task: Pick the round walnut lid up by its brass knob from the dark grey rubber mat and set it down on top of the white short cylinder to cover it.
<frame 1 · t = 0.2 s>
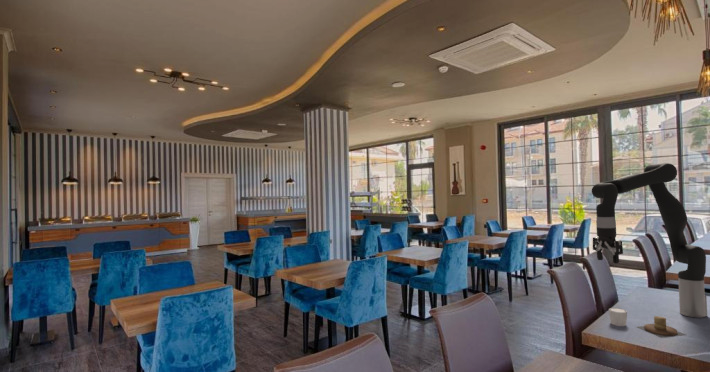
hand: (607, 261, 175), 28 cm above the table, tool pointing down, fingers open, 8 cm apart
white short cylinder: (618, 326, 172), on the table
walnut lid: (660, 330, 162), point 1 cm above the table, touching rubber mat
rubber mat: (660, 332, 162), on the table
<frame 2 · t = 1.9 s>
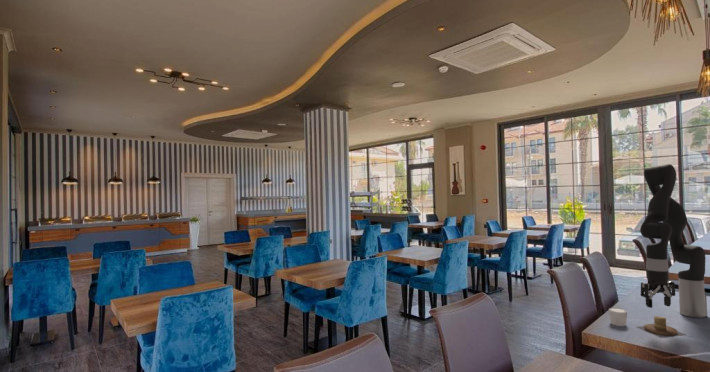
hand: (658, 306, 162), 11 cm above the table, tool pointing down, fingers open, 8 cm apart
nothing on the table moved.
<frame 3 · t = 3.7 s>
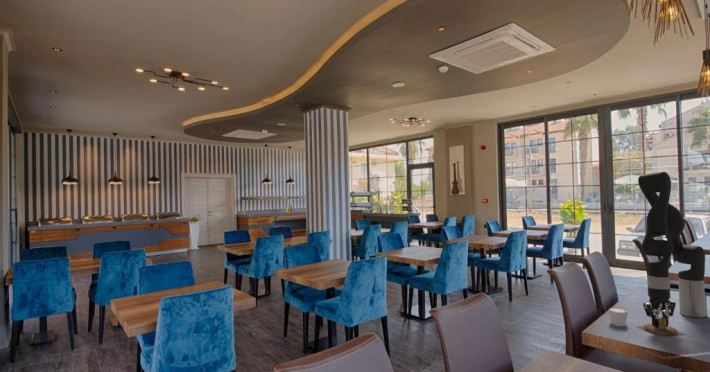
hand: (660, 326, 162), 3 cm above the table, tool pointing down, fingers closed on walnut lid, 4 cm apart
walnut lid: (660, 330, 162), point 1 cm above the table, touching gripper, rubber mat
everything else where it was.
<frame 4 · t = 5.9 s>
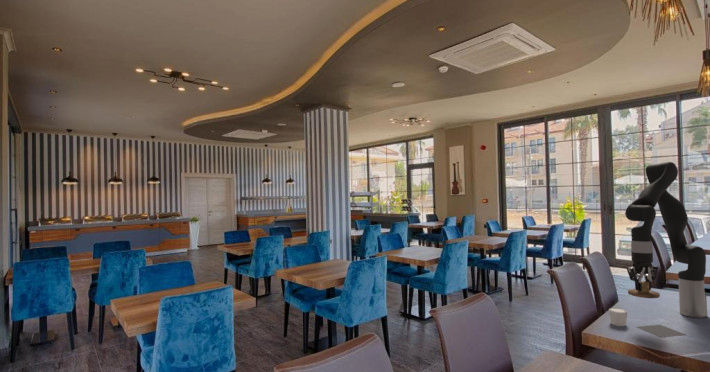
hand: (643, 290, 165), 18 cm above the table, tool pointing down, fingers closed on walnut lid, 4 cm apart
walnut lid: (643, 294, 165), point 16 cm above the table, touching gripper
everything else where it was.
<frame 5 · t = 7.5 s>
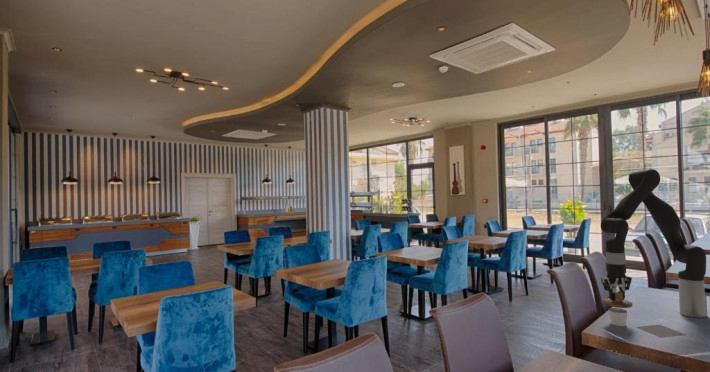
hand: (617, 299, 172), 12 cm above the table, tool pointing down, fingers closed on walnut lid, 4 cm apart
walnut lid: (617, 304, 172), point 10 cm above the table, touching gripper
everything else where it was.
when the fingers open (10 cm above the table, at t = 8.5 s): walnut lid drops 1 cm, resting on white short cylinder.
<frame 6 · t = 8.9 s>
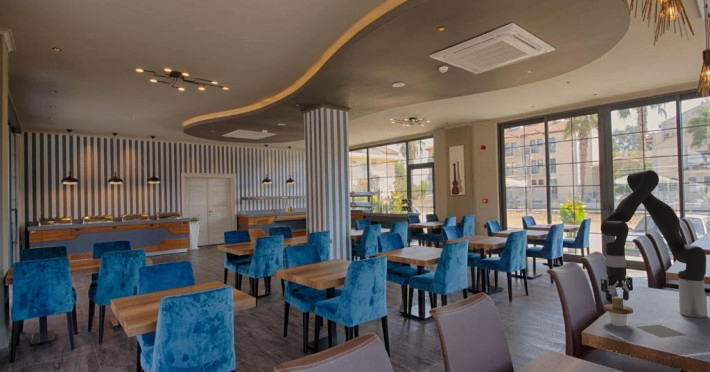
hand: (617, 300, 172), 11 cm above the table, tool pointing down, fingers open, 8 cm apart
white short cylinder: (618, 325, 172), on the table, touching walnut lid
walnut lid: (618, 310, 172), point 7 cm above the table, touching white short cylinder
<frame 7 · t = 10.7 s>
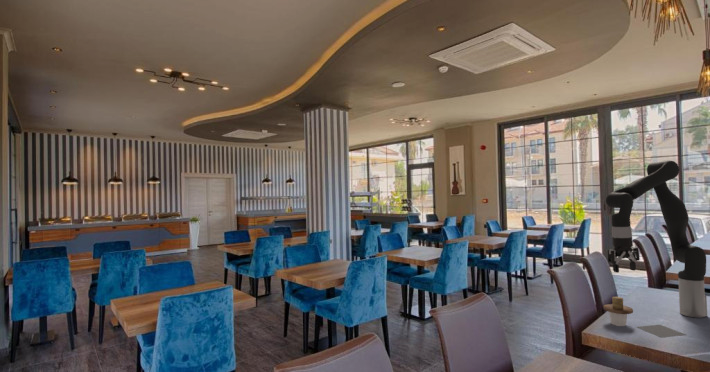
hand: (624, 271, 174), 24 cm above the table, tool pointing down, fingers open, 8 cm apart
nothing on the table moved.
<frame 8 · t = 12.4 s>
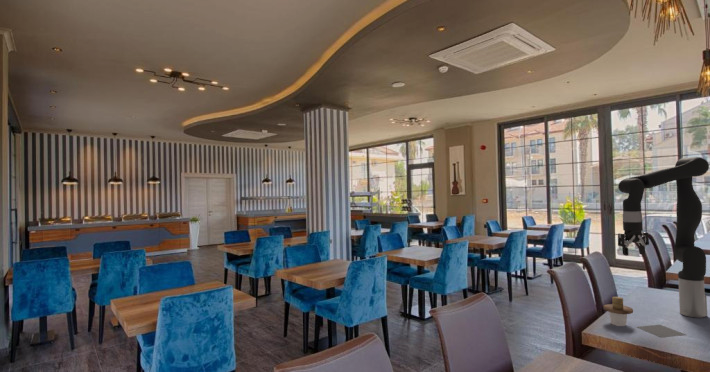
hand: (633, 254, 180), 30 cm above the table, tool pointing down, fingers open, 8 cm apart
nothing on the table moved.
at the end: walnut lid 0.1 cm from the white short cylinder (horizontally); walnut lid point 7.0 cm above the table; walnut lid tilted 0° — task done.
